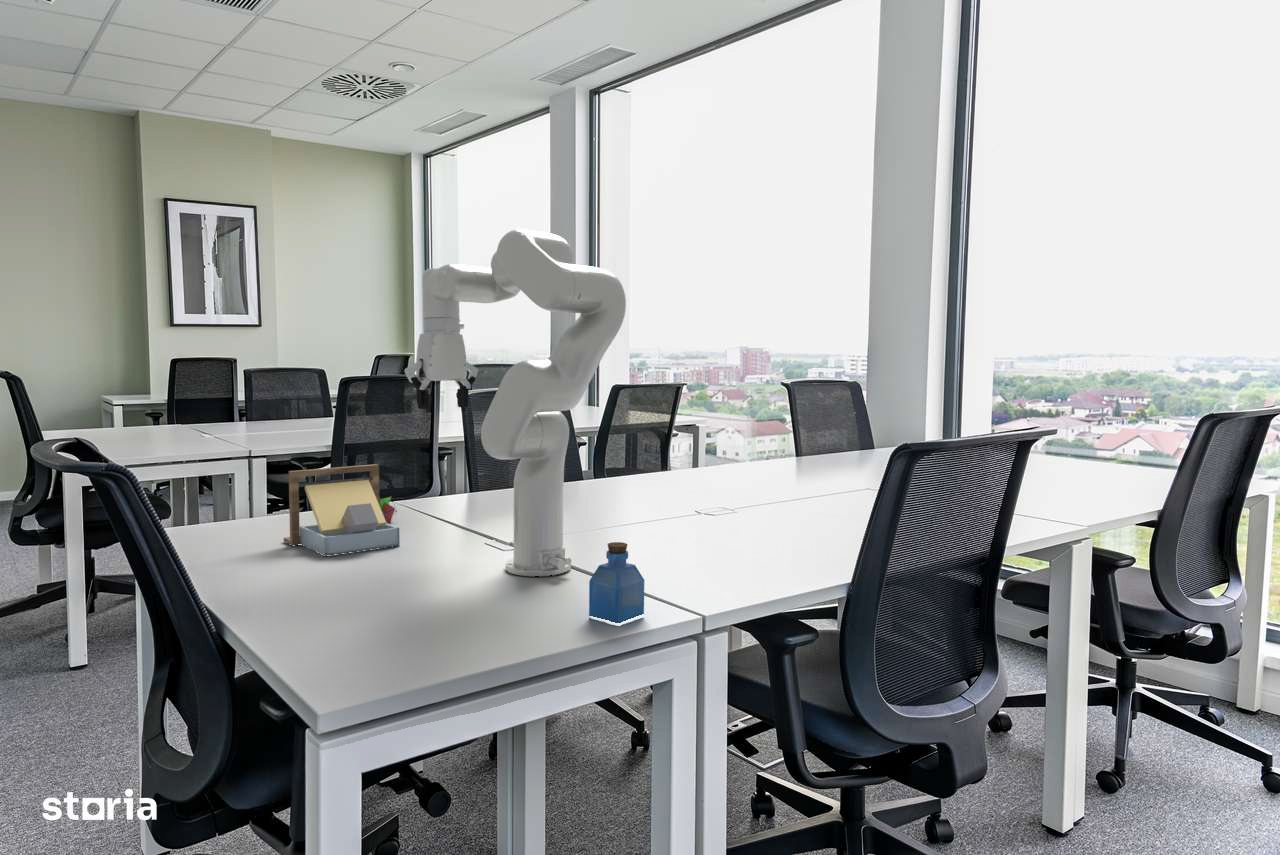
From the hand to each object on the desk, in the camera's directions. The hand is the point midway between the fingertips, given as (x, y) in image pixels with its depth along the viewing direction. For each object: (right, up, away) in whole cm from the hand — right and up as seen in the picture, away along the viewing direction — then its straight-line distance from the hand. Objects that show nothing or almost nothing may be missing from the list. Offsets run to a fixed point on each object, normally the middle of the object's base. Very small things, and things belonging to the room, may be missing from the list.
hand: (443, 408), depth 183 cm
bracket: (-26, -29, +7) cm, 40 cm away
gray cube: (-18, -26, -2) cm, 31 cm away
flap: (-22, -21, +1) cm, 30 cm away
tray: (-20, -30, +1) cm, 36 cm away
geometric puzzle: (-21, -28, +25) cm, 43 cm away
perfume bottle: (+38, -35, -47) cm, 70 cm away
